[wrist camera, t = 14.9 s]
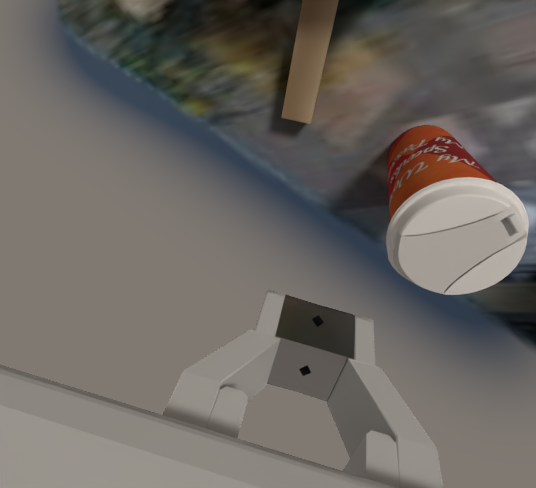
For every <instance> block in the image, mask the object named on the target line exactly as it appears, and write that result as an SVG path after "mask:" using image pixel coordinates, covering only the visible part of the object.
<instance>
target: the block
mask: <svg viewBox="0 0 536 488" xmlns="http://www.w3.org/2000/svg"><path fill="white" fill-rule="evenodd" d="M338 3H339V0H303V1H302V6H301V12H300V17H299V23H298V28H297V34H296V39H295V45H294V50H293V56H292V61H291V67H290V73H289V78H288V84H287V89H286V95H285V100H284V106H283V111H282V117H281V118H285V119H290V120H294V121H299V122H304V123H308V124H311V121H312V117H313V112H314V108H315V104H316V99H317V95H318V90H319V86H320V82H321V77H322V73H323V68H324V64H325V60H326V55H327V51H328V47H329V42H330V38H331V33H332V29H333V25H334V20H335V16H336V11H337V7H338Z"/></svg>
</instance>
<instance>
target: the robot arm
mask: <svg viewBox="0 0 536 488" xmlns="http://www.w3.org/2000/svg"><path fill="white" fill-rule="evenodd" d="M266 384H271V385H275V386H278V387H282V388H286V389H289V390H293V391H297V392H300V393H303V394H306V395H309V396H312V397H315V398H318V399H321V400H324V401H327V404H328V407H329V409H330V412H331V414H332V416H333V419H334V421H335V423H336V426H337V428H338V430H339V433H340V435H341V438H342V440H343V442H344V445H345V447H346V449H347V452H348V454H349V457H350V460H349V462H348V463H347V465H346V466H345V468H344V469H343V471H340V470H337V469H334V468H331V467H327V466H324V465H321V464H318V463H314V462H311V461H308V460H305V459H301V458H298V457H295V456H292V455H289V454H285V453H282V452H279V451H276V450H273V449H269V448H266V447H263V446H260V445H256V444H253V443H250V442H247V441H244V440H240V439H237V437H238V434H239V430H240V426H241V422H242V419H243V415H244V411H245V407H246V404H247V402H249V401H250V400H251V399H252V398H253V397H254V396H255V395H256V394H257V393H258V392H259V391H261V390H262V389H263V388H264V387H265V386H266ZM0 488H443V483H442V476H441V470H440V464H439V458H438V452H437V448H436V447H435V445H434V444H433V442H432V441H431V439H430V438H429V437H428V435H427V434H426V432H425V431H424V429H423V428H422V426H421V425H420V424H419V422H418V421H417V419H416V418H415V416H414V415H413V414H412V412H411V411H410V409H409V408H408V406H407V405H406V403H405V402H404V401H403V399H402V398H401V396H400V395H399V393H398V392H397V391H396V389H395V388H394V386H393V385H392V383H391V382H390V381H389V379H388V378H387V376H386V375H385V373H384V372H383V370H382V369H381V368H380V367H376V366H375V345H374V322H373V320H372V319H369V318H365V317H361V316H358V315H353V314H349V313H346V312H342V311H339V310H335V309H332V308H328V307H324V306H320V305H317V304H314V303H311V302H308V301H305V300H301V299H298V298H295V297H291V296H288V295H284V294H281V293H278V292H274V291H271V290H268V291H267V293H266V296H265V299H264V302H263V305H262V308H261V311H260V314H259V318H258V321H257V324H256V327H255V330H250V329H249V330H247V331H246V332H244V333H243V334H241V335H240V336H238V337H236V338H235V339H233V340H232V341H230V342H229V343H227V344H225V345H224V346H222V347H221V348H219V349H218V350H216V351H214V352H213V353H211V354H210V355H208V356H206V357H205V358H203V359H202V360H200V361H199V362H197V363H196V364H194V365H192V366H191V367H189V368H188V369H186V370H185V371H183V373H182V375H181V377H180V379H179V381H178V384H177V386H176V388H175V390H174V392H173V394H172V396H171V398H170V400H169V402H168V404H167V406H166V409H165V411H164V413H163V415H161V414H157V413H154V412H151V411H148V410H144V409H141V408H138V407H135V406H131V405H128V404H125V403H122V402H118V401H116V400H112V399H109V398H106V397H103V396H99V395H96V394H93V393H90V392H87V391H83V390H80V389H77V388H74V387H70V386H67V385H64V384H60V383H57V382H54V381H51V380H48V379H45V378H41V377H38V376H35V375H32V374H29V373H25V372H22V371H19V370H16V369H12V368H9V367H6V366H3V365H0Z"/></svg>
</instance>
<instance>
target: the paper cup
mask: <svg viewBox="0 0 536 488" xmlns="http://www.w3.org/2000/svg"><path fill="white" fill-rule="evenodd" d="M388 191H389V209H390V224H389V226H388V230H387V234H386V245H387V251H388V260H389V261H390V263H391V265H392V266H393V268H394V269H395V270H396V271H397V272H398V273H399V274H401V275H402V276H403V277H404V278H406V279H407V280H409V281H411V282H413V283H415V284H417V285H419V286H421V287H422V288H425V289H428V290H430V291H434V292H437V293H441V294H446V295H459V294H467V293H472V292H476V291H479V290H482V289H485V288H487V287H490V286H492V285H494V284H496V283H497V282H499V281H500V280H502V279H503V278H505V277H506V276H507V275H508V274H509V273H510V272H511V271H512V270H513V269H514V268H515V267H516V266H517V264H518V263H519V261H520V260H521V258H522V256H523V254H524V252H525V248H526V244H527V234H528V226H529V222H528V216H527V212H526V210H525V207H524V205H523V204H522V202H521V201H520V199H519V198H518V197H517V196H516V195H515V194H514V193H513V192H512V191H511V190H509V189H508V188H506V187H505V186H503V185H501V184H499V183H497V182H496V181H495V180H494V178H493V177H492V176H491V175H490V174H489V173H488V172H487V171H486V170H485V169H484V168H483V167H482V166H481V165H480V164H479V163H478V162H477V161H476V160H475V159H474V158H473V157H472V156H471V155H470V154H469V153H468V152H467V151H466V150H465V149H464V148H463V147H462V146H461V144H460V143H459V142H458V141H457V140H456V139H455V138H454V137H453V136H452V135H450V134H449V133H448V132H447V131H445V130H444V129H442V128H439V127H436V126H431V125H423V126H417V127H414V128H411V129H409V130H407V131H406V132H404V133H403V134H401V135H400V136H399V137H398V138H397V139H396V140H395V142H394V143H393V145H392V147H391V149H390V151H389V155H388Z"/></svg>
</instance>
